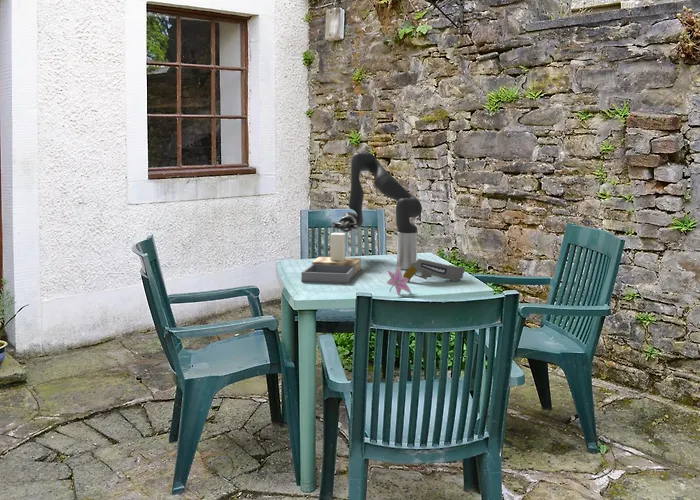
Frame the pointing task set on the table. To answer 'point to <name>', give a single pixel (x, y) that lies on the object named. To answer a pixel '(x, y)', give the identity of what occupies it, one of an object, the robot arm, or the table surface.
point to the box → (328, 273)
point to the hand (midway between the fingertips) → (341, 227)
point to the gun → (434, 270)
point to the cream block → (337, 246)
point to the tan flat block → (339, 262)
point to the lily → (398, 281)
